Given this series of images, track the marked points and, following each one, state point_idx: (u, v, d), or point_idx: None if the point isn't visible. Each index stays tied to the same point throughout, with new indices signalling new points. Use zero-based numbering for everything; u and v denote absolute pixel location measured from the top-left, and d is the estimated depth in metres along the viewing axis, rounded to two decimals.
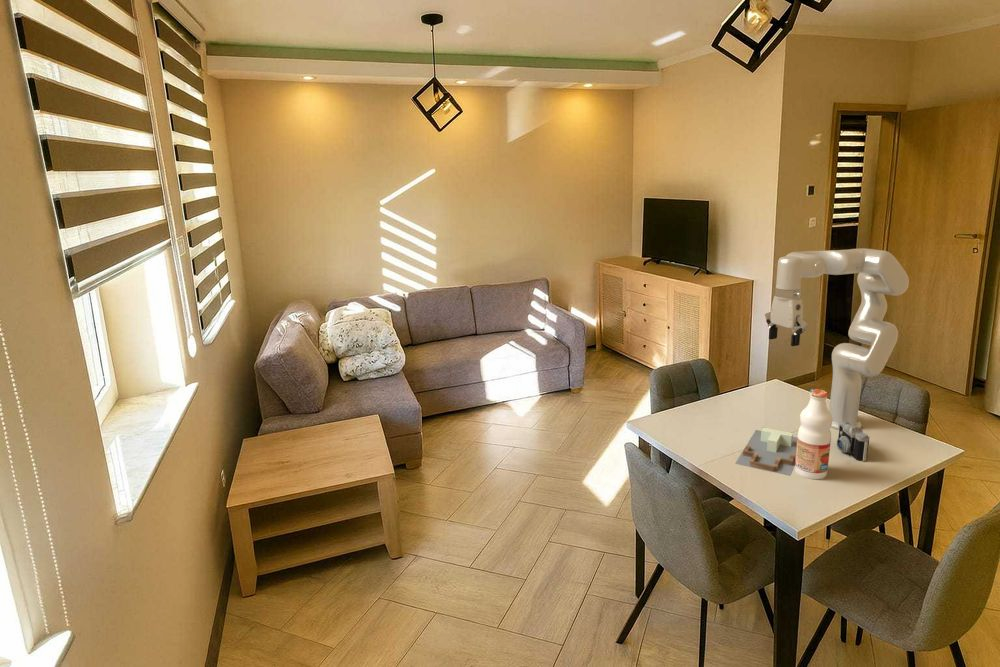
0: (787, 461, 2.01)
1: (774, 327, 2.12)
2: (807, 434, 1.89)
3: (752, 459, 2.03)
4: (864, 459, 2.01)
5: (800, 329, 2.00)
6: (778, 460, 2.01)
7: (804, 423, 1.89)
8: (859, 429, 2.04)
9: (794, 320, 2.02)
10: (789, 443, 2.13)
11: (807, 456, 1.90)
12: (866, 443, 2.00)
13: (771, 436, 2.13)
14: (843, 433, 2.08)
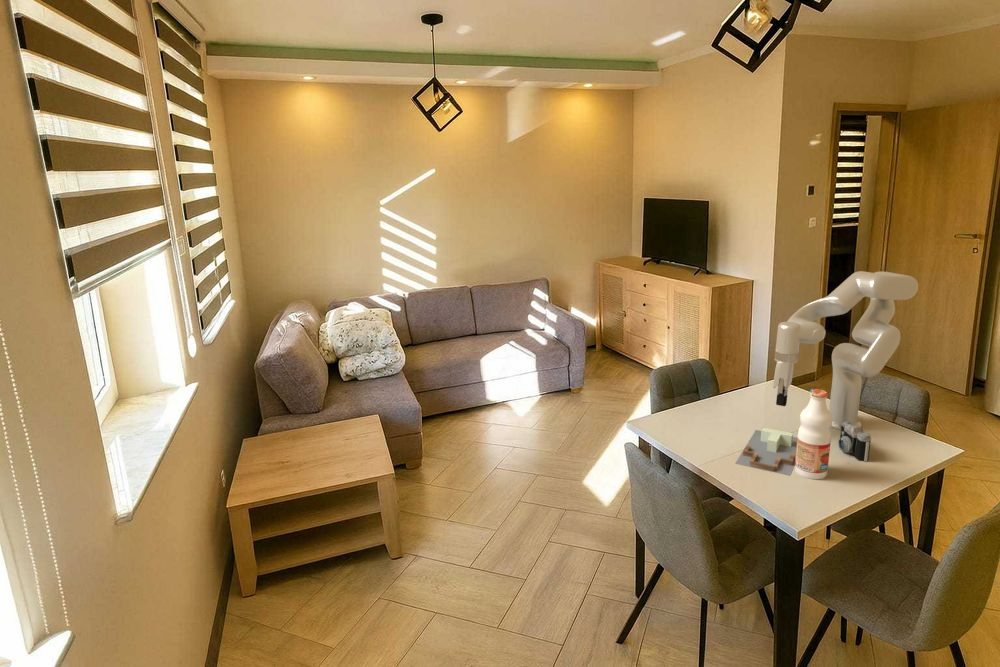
0: (787, 461, 2.01)
1: None
2: (807, 434, 1.89)
3: (752, 459, 2.03)
4: (866, 459, 2.01)
5: None
6: (778, 460, 2.01)
7: (804, 423, 1.89)
8: (861, 429, 2.04)
9: None
10: (789, 443, 2.13)
11: (807, 456, 1.90)
12: (868, 443, 2.00)
13: (771, 436, 2.13)
14: (845, 433, 2.08)
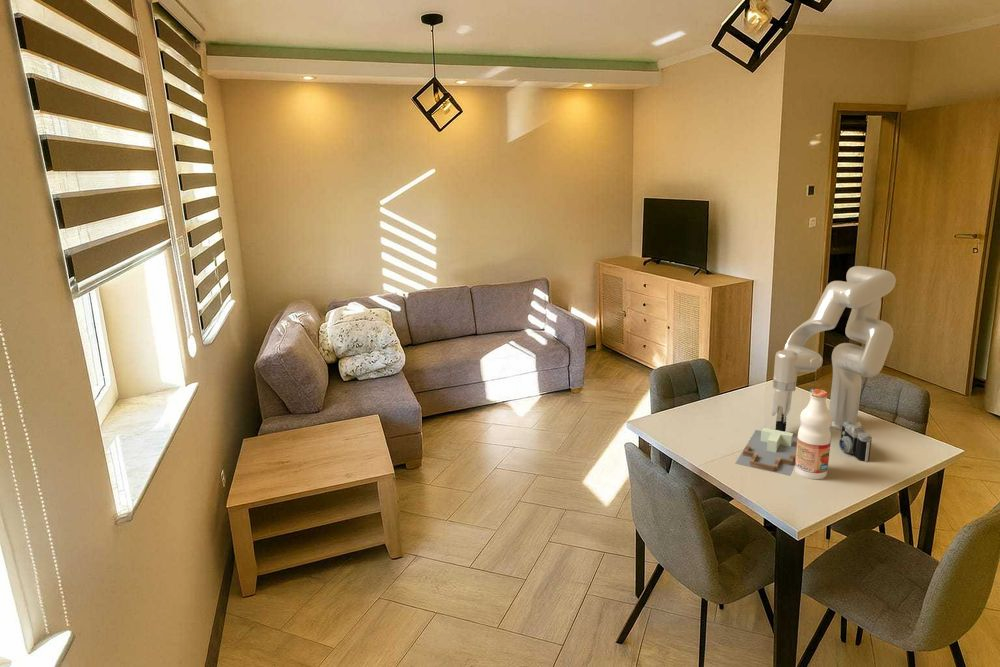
0: (787, 461, 2.01)
1: None
2: (807, 434, 1.89)
3: (752, 459, 2.03)
4: (866, 459, 2.01)
5: None
6: (778, 460, 2.01)
7: (804, 423, 1.89)
8: (861, 429, 2.04)
9: None
10: (789, 443, 2.13)
11: (807, 456, 1.90)
12: (868, 443, 1.99)
13: (771, 436, 2.13)
14: (845, 433, 2.08)
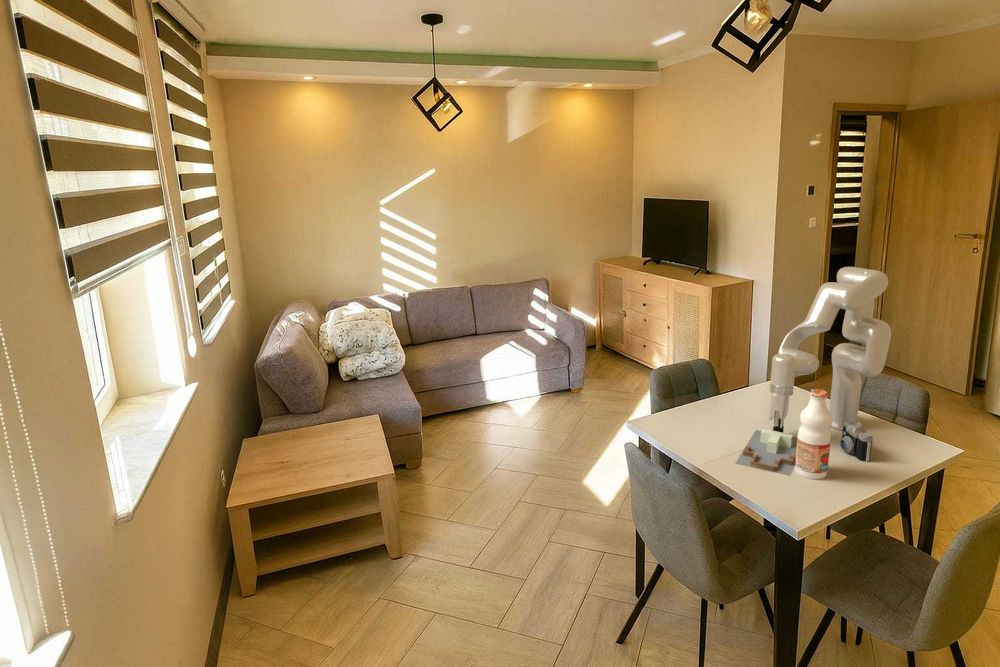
0: (787, 461, 2.01)
1: None
2: (807, 434, 1.89)
3: (752, 459, 2.03)
4: (867, 459, 2.01)
5: None
6: (778, 460, 2.01)
7: (804, 423, 1.89)
8: (862, 429, 2.04)
9: None
10: (789, 444, 2.13)
11: (807, 456, 1.90)
12: (869, 443, 1.99)
13: (771, 437, 2.12)
14: (846, 433, 2.08)
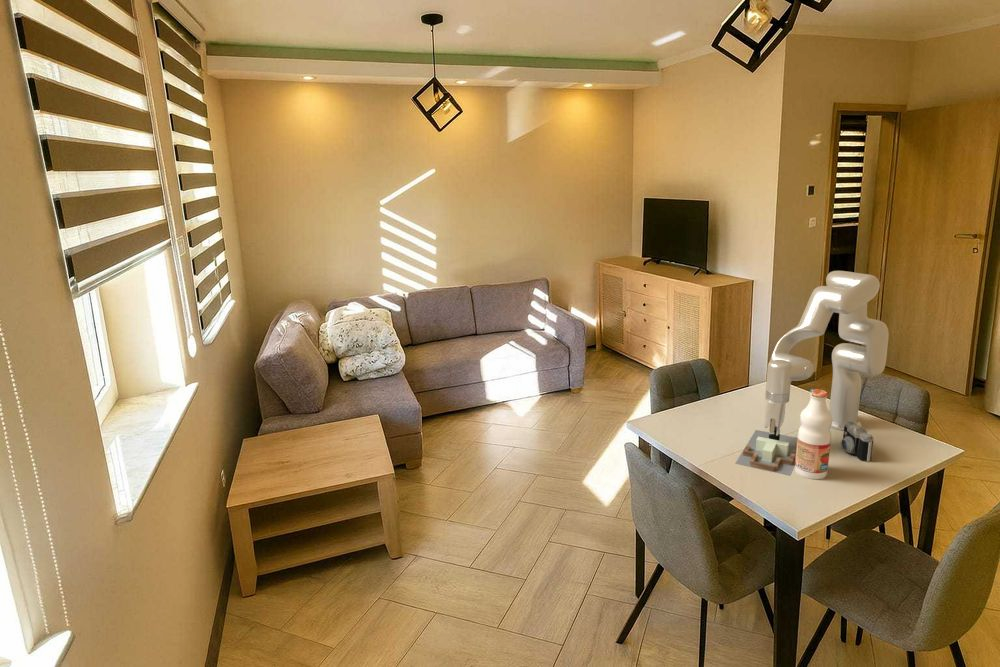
0: (787, 461, 2.01)
1: None
2: (807, 434, 1.89)
3: (752, 459, 2.03)
4: (868, 459, 2.01)
5: None
6: (778, 460, 2.01)
7: (804, 423, 1.89)
8: (863, 429, 2.04)
9: None
10: (785, 453, 2.07)
11: (807, 456, 1.90)
12: (870, 443, 1.99)
13: (766, 445, 2.06)
14: (847, 433, 2.08)
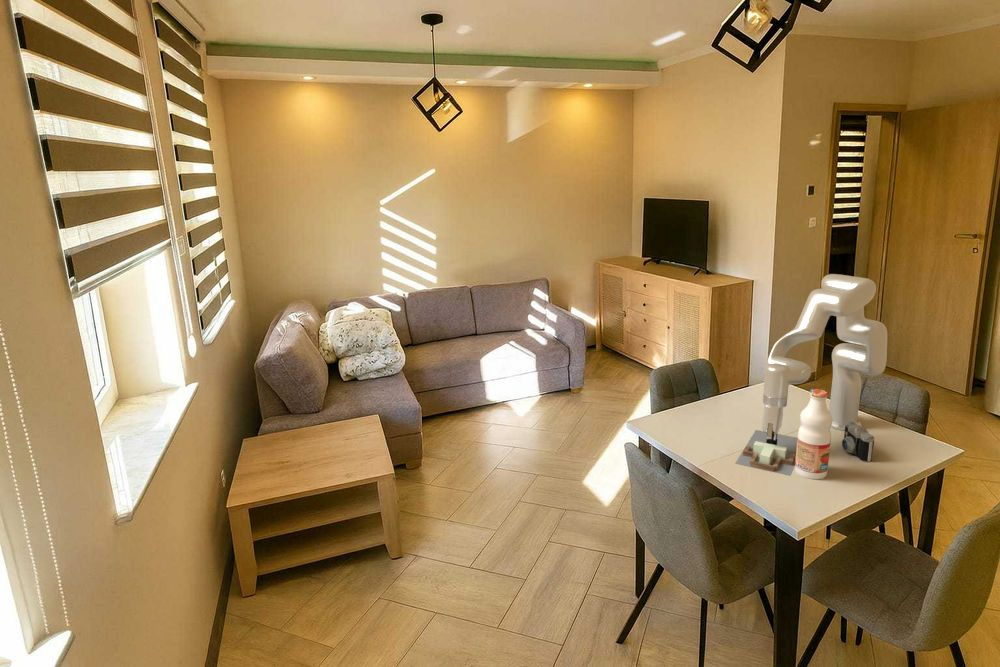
0: (787, 461, 2.01)
1: None
2: (807, 434, 1.89)
3: (752, 459, 2.03)
4: (869, 460, 2.01)
5: None
6: (778, 460, 2.01)
7: (804, 423, 1.89)
8: (864, 429, 2.04)
9: None
10: None
11: (807, 456, 1.90)
12: (871, 444, 1.99)
13: (764, 450, 2.03)
14: (848, 433, 2.08)
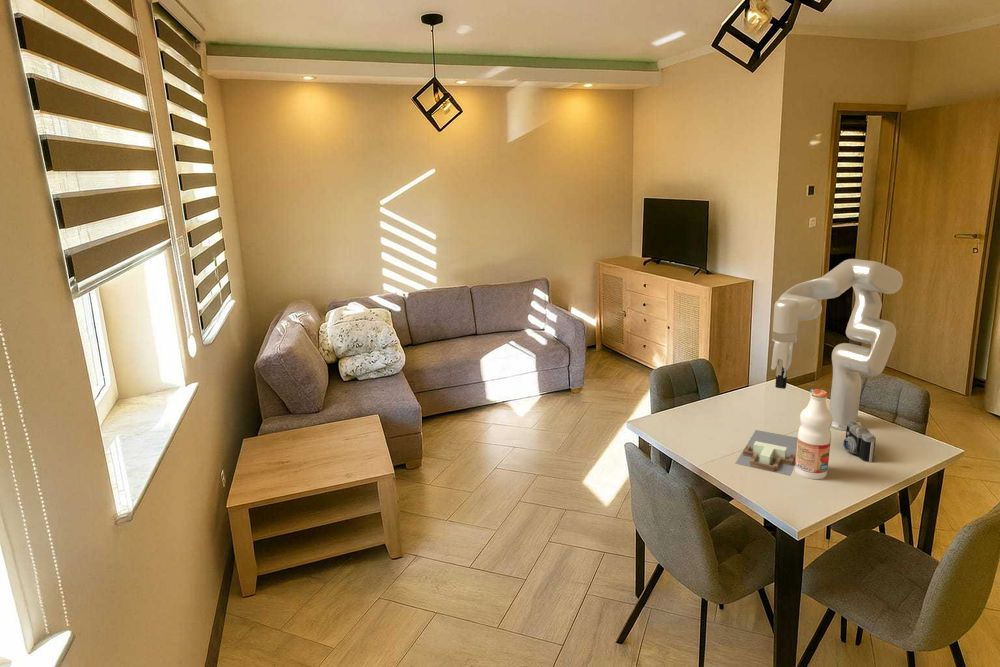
0: (787, 461, 2.01)
1: None
2: (807, 434, 1.89)
3: (752, 459, 2.03)
4: (870, 460, 2.01)
5: None
6: (778, 460, 2.01)
7: (804, 423, 1.89)
8: (866, 430, 2.04)
9: None
10: None
11: (807, 456, 1.90)
12: (872, 444, 1.99)
13: (764, 450, 2.03)
14: (850, 433, 2.08)
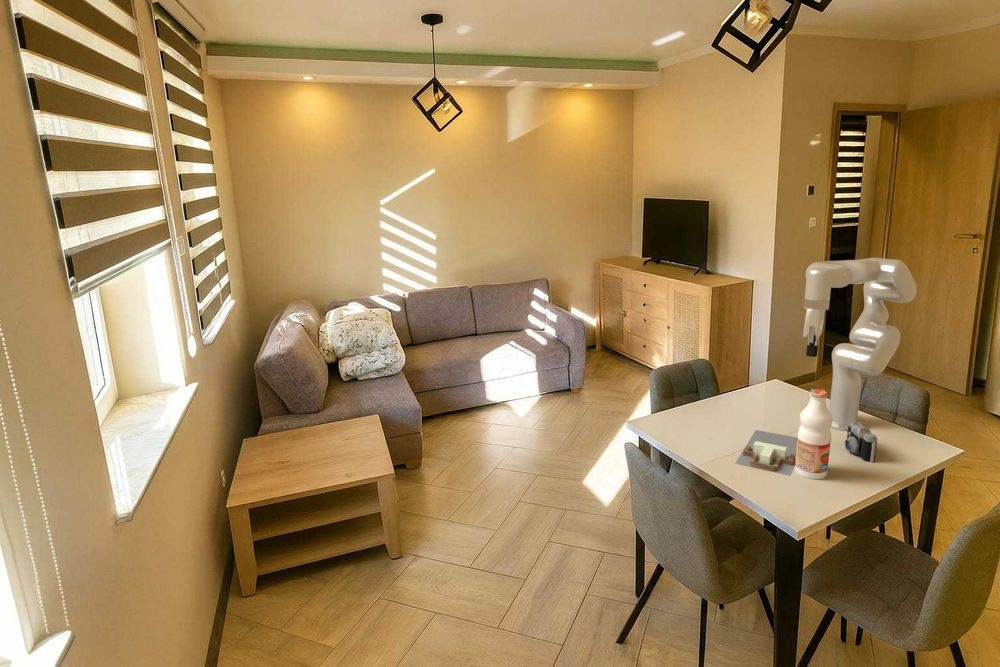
0: (787, 461, 2.01)
1: None
2: (807, 434, 1.89)
3: (752, 459, 2.03)
4: (872, 460, 2.00)
5: None
6: (778, 460, 2.01)
7: (804, 423, 1.89)
8: (867, 430, 2.03)
9: None
10: None
11: (807, 456, 1.90)
12: (874, 444, 1.99)
13: (764, 450, 2.03)
14: (851, 434, 2.08)
